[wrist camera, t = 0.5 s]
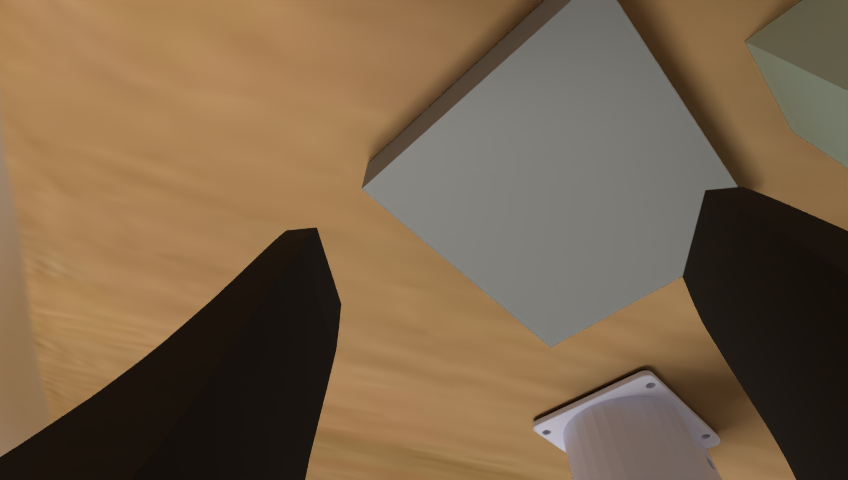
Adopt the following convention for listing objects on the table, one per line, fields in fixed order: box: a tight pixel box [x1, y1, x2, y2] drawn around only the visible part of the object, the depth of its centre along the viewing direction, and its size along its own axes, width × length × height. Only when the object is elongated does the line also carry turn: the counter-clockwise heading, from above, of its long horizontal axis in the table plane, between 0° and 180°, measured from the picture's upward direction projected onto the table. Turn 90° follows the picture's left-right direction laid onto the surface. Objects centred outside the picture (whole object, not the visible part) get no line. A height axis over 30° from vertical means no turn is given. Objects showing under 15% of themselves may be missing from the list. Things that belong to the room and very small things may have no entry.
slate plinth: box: [362, 0, 738, 347], centre depth 18 cm, size 12×10×2 cm
